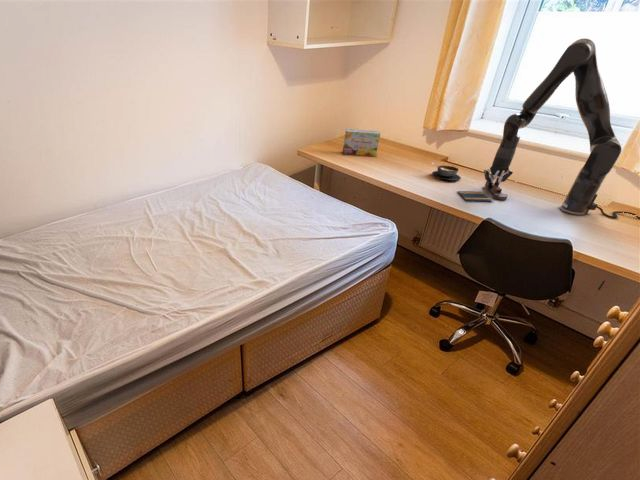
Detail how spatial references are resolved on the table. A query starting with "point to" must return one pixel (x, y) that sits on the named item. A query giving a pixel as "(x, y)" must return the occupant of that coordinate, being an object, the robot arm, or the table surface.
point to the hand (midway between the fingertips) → (491, 188)
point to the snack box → (361, 142)
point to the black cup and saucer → (446, 173)
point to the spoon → (496, 191)
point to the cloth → (474, 196)
